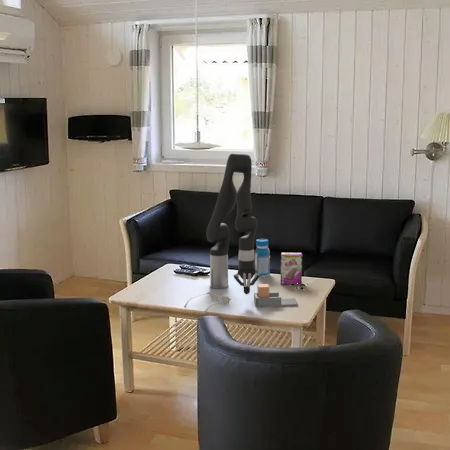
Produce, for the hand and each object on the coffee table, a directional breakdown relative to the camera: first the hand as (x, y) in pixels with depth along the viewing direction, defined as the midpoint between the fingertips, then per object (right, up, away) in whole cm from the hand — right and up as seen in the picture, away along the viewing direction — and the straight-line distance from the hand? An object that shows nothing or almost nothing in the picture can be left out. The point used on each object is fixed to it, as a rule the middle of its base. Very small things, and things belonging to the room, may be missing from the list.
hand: (246, 293), depth 319 cm
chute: (+14, -5, +2) cm, 15 cm away
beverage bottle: (+10, +5, +52) cm, 53 cm away
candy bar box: (+25, +2, +35) cm, 43 cm away
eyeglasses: (-19, -6, +1) cm, 20 cm away
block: (+8, -4, +1) cm, 9 cm away
